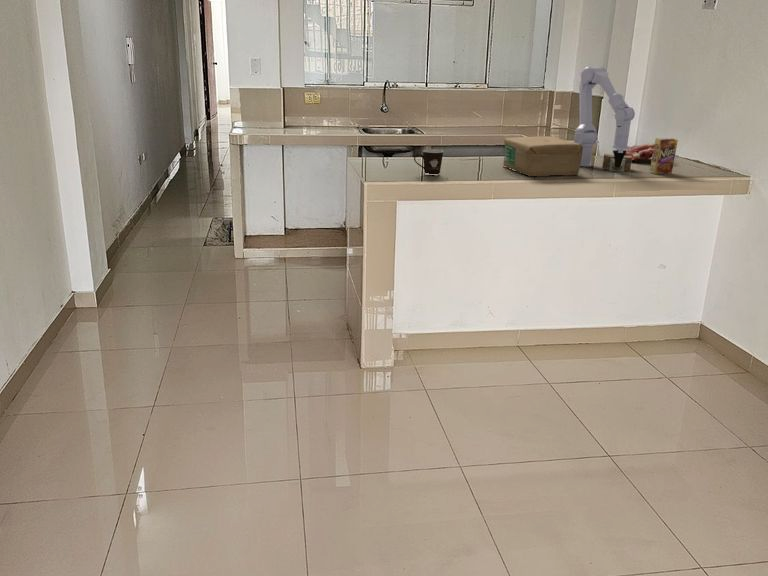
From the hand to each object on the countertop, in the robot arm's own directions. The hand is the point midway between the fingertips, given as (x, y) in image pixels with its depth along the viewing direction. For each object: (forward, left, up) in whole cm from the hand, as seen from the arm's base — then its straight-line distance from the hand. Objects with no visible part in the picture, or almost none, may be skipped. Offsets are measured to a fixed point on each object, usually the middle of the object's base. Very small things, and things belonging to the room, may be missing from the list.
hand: (617, 166), depth 300 cm
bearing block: (0, +8, -2) cm, 9 cm away
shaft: (0, +6, -2) cm, 7 cm away
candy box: (+19, +5, -3) cm, 20 cm away
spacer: (0, +4, -2) cm, 5 cm away
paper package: (-33, -10, -3) cm, 35 cm away
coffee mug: (-78, -37, -3) cm, 86 cm away
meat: (+14, +37, -3) cm, 40 cm away
